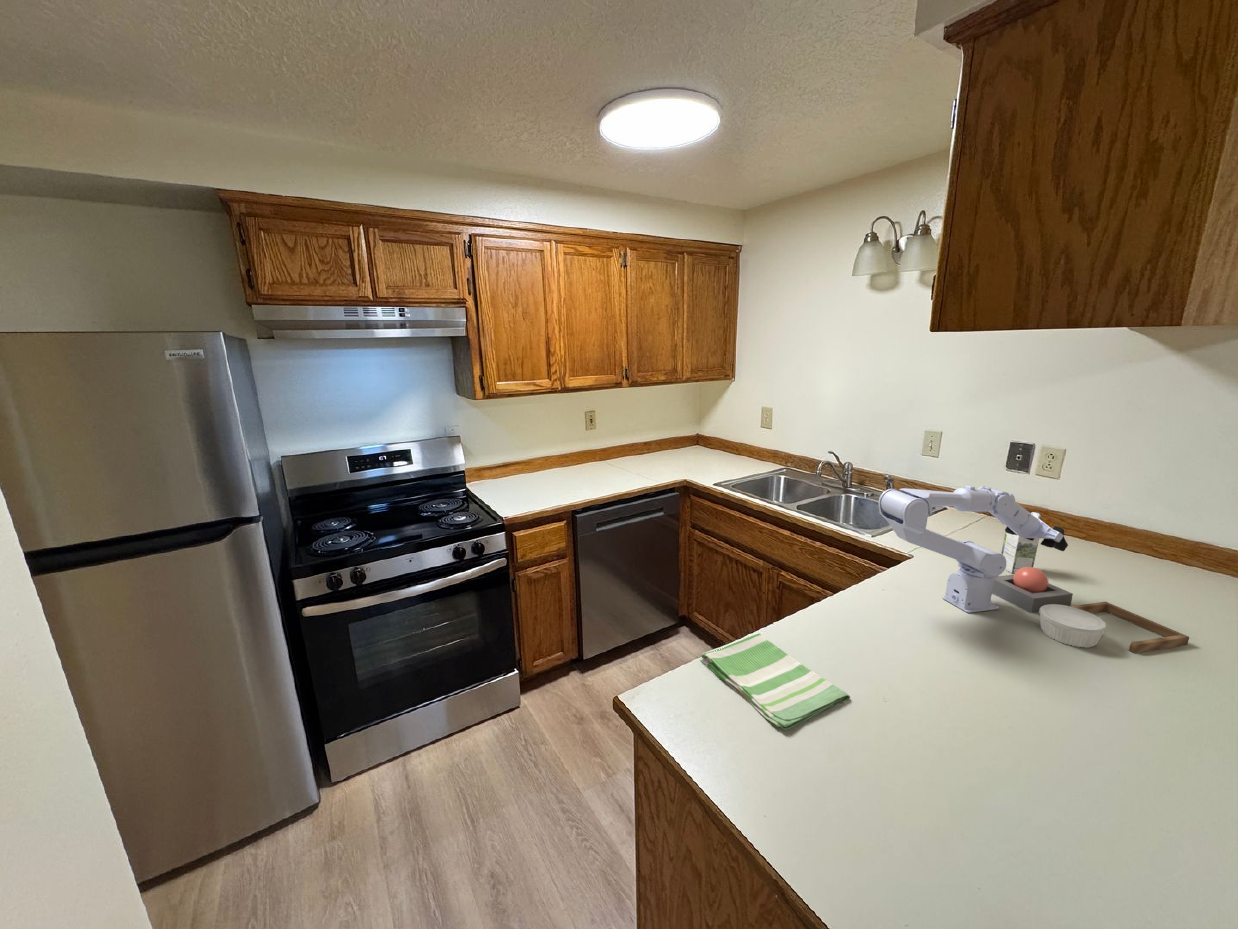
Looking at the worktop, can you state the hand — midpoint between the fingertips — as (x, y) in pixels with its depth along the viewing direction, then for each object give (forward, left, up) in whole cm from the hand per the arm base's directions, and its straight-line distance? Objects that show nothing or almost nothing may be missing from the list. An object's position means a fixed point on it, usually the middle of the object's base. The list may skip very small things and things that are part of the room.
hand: (1048, 542), depth 125 cm
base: (-4, 0, -15) cm, 16 cm away
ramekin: (-12, -16, -16) cm, 26 cm away
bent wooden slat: (+2, -16, -15) cm, 23 cm away
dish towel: (-86, -16, -16) cm, 89 cm away
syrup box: (+10, +15, -16) cm, 23 cm away
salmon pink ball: (-4, 0, -14) cm, 14 cm away
